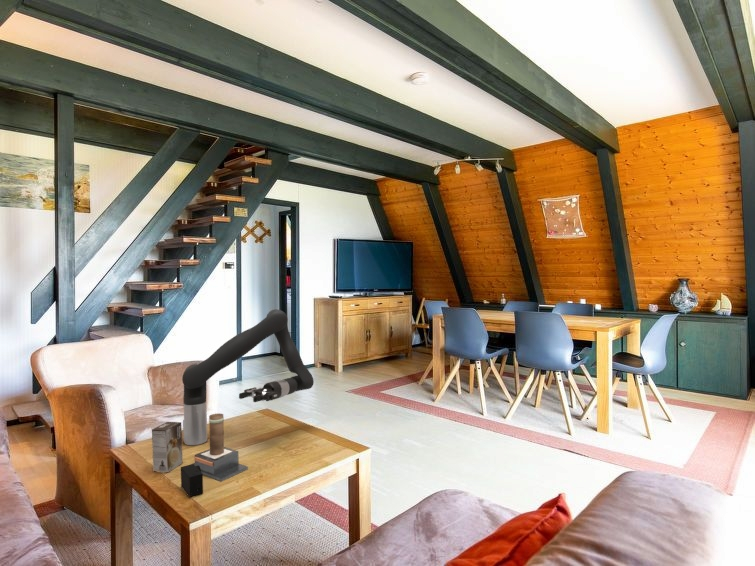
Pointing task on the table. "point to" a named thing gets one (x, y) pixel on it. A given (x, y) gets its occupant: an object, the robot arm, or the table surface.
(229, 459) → the step stand
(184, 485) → the digital camera
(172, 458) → the coffee box
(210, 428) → the column
